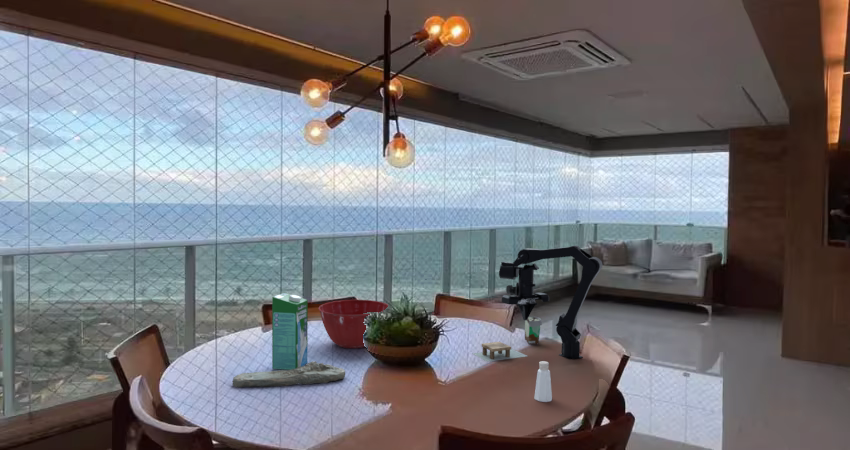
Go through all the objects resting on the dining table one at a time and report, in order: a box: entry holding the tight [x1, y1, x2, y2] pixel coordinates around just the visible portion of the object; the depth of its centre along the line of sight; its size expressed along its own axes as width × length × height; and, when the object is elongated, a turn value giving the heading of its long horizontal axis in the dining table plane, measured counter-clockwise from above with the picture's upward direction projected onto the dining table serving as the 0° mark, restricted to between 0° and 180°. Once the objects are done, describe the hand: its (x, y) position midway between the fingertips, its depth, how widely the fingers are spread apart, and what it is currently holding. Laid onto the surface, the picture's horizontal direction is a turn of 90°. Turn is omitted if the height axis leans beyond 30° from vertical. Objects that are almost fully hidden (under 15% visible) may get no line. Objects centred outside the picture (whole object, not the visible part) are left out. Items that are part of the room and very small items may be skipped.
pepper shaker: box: [533, 360, 553, 403], centre depth 158 cm, size 5×5×11 cm
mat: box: [472, 348, 528, 363], centre depth 202 cm, size 11×18×1 cm, turn 115°
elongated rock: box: [231, 360, 346, 388], centre depth 171 cm, size 35×5×10 cm
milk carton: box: [271, 292, 309, 371], centre depth 186 cm, size 9×9×25 cm
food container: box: [524, 315, 543, 345], centre depth 222 cm, size 12×6×10 cm, turn 179°
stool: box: [481, 341, 512, 359], centre depth 201 cm, size 8×4×8 cm
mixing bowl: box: [318, 299, 389, 349], centre depth 216 cm, size 28×28×15 cm
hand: (525, 320), depth 209 cm, fingers closed
